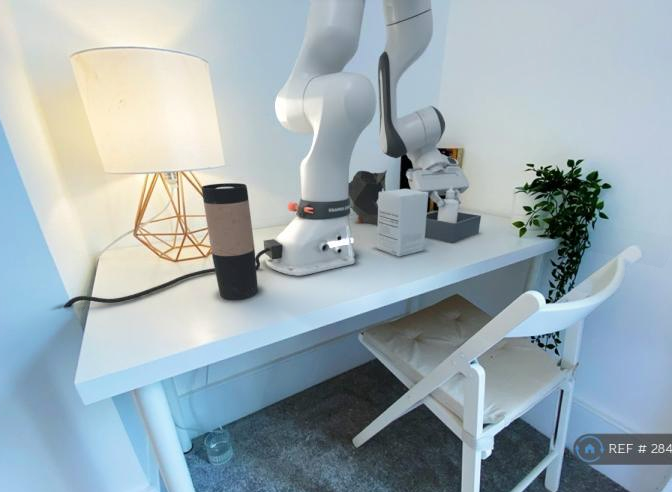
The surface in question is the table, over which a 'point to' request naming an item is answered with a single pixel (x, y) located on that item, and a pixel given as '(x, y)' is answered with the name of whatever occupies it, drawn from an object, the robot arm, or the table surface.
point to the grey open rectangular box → (452, 227)
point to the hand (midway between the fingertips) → (450, 205)
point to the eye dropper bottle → (449, 208)
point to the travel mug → (231, 239)
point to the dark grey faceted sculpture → (366, 195)
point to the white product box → (401, 221)
